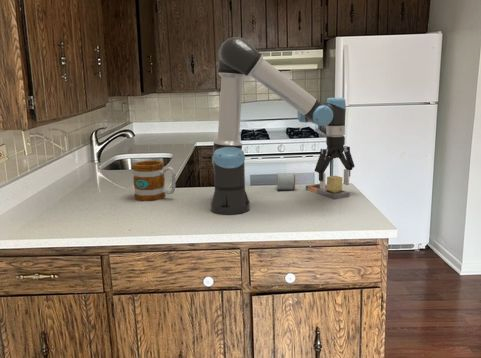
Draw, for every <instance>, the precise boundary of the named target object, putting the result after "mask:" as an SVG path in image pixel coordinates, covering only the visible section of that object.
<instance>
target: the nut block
mask: <svg viewBox="0 0 481 358" xmlns="http://www.w3.org/2000/svg"><path fill="white" fill-rule="evenodd" d="M326 185H327V192H330V193H333V194H335V193H340V192H342V190H343V177H342V176H338V175H330V176H326Z"/></svg>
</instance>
